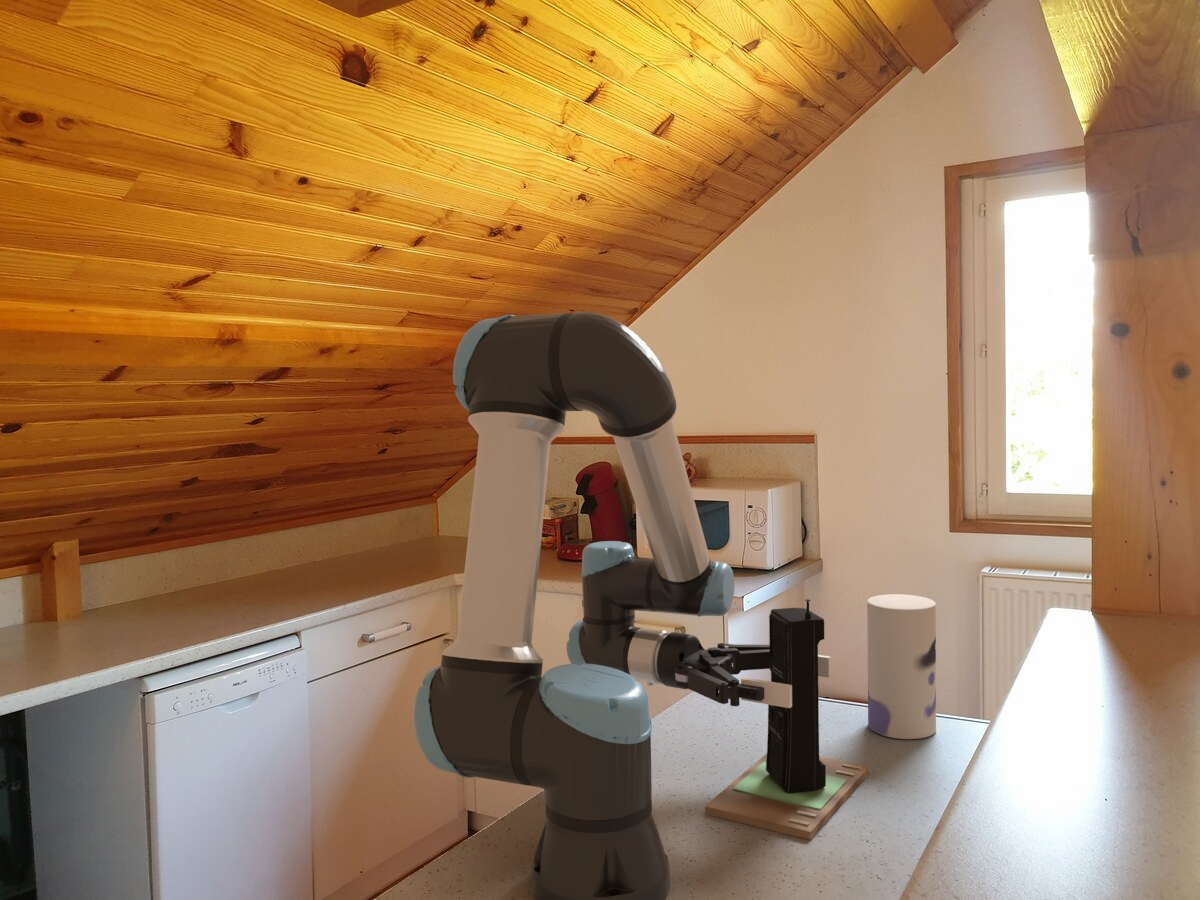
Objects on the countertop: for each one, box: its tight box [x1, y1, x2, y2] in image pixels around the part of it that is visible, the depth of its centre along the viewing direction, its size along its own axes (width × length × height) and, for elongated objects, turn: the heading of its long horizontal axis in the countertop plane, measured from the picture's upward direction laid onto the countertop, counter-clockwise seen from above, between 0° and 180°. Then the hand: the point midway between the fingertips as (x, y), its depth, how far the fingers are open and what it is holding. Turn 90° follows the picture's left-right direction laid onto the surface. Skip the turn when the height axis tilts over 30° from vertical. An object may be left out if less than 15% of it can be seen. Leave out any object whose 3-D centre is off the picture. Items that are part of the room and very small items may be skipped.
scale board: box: [704, 753, 870, 841], centre depth 128 cm, size 22×14×1 cm, turn 147°
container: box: [866, 593, 937, 740], centre depth 149 cm, size 10×10×20 cm
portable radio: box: [766, 598, 826, 793], centre depth 128 cm, size 8×6×25 cm
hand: (811, 681), depth 125 cm, fingers open, 13 cm apart
